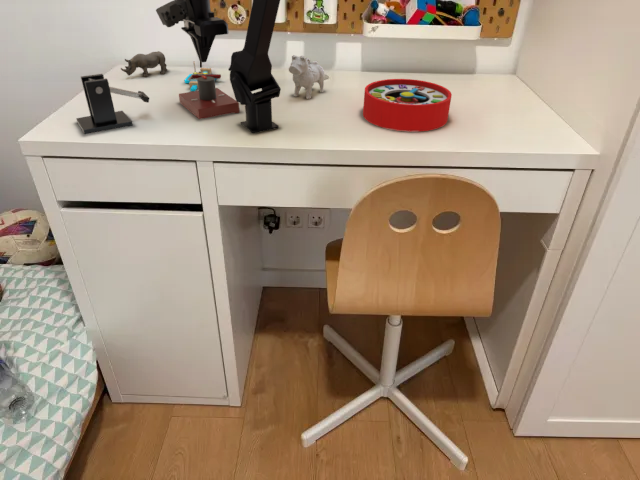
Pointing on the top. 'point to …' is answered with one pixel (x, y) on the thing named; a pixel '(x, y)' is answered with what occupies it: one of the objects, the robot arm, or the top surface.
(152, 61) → the rhino figurine
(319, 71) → the dog figurine
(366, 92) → the toy clock
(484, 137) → the top surface
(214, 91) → the timer dial
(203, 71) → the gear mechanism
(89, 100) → the lever bracket
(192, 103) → the dial panel
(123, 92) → the lever
